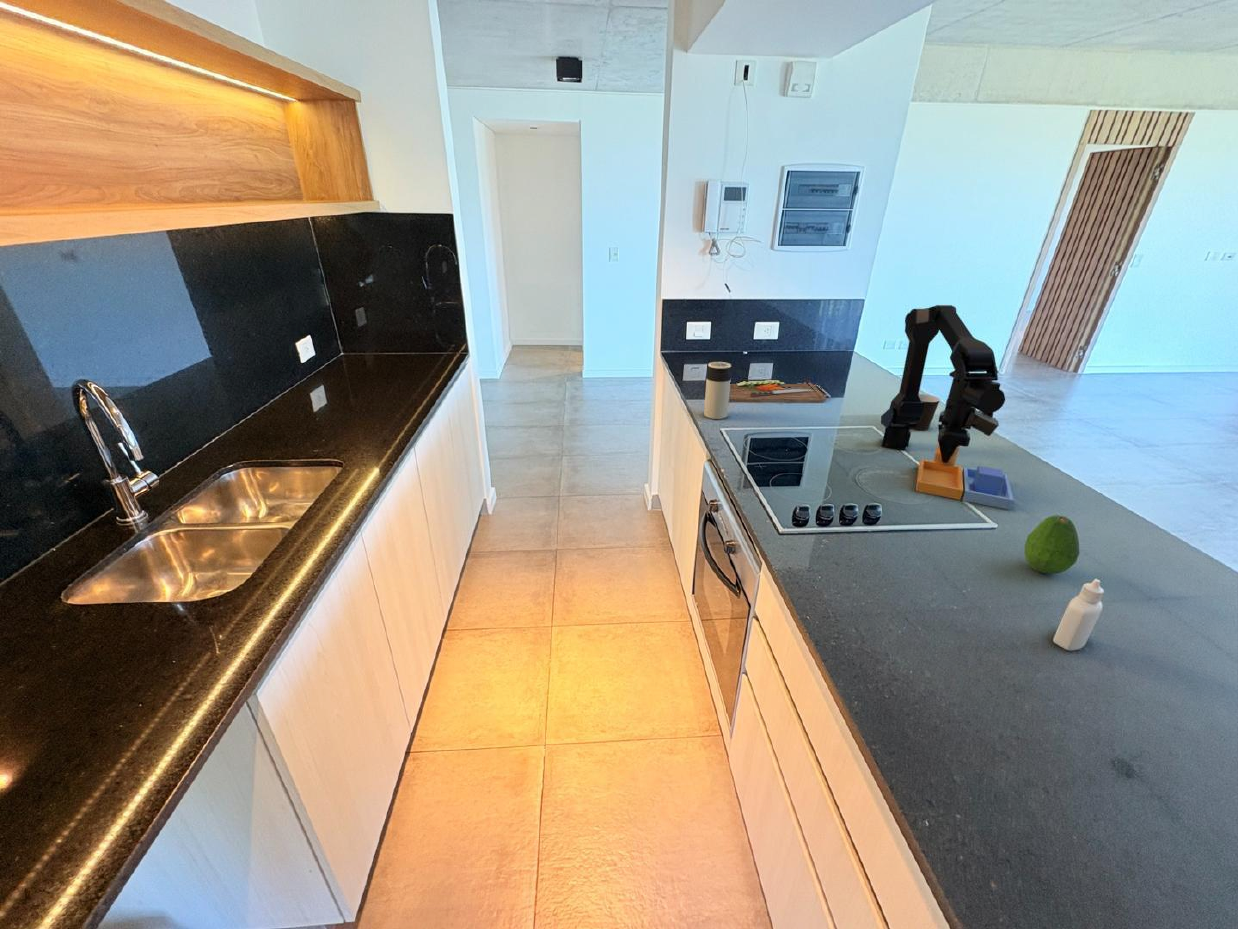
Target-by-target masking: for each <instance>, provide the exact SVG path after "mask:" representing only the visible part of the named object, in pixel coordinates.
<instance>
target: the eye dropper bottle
mask: <svg viewBox="0 0 1238 929" xmlns="http://www.w3.org/2000/svg"><path fill="white" fill-rule="evenodd" d="M1104 594H1105V590H1104V589H1103V587H1102V586H1101V580H1100V579H1097V578H1094V579H1093V580H1092V582H1089V583H1088V582H1087V583H1084V584H1083V585H1082V587H1081V590H1080V591H1079V594H1078V595H1075V596H1074V597H1073V598H1072V599H1071V600H1070V601H1069V603H1068V605H1067V607H1066V609H1065V612H1064V613H1063V616H1062V618H1061V620H1060V623H1059V626H1058V627H1057V630H1056V632H1055V634H1054V636H1053V643H1054V644H1055V645H1057V646H1059V647H1060V648H1062V649H1063V650H1065V651H1070V652H1071V651H1072V652H1073V651H1078V650H1080V649H1083V647H1084V646H1085V645H1086V644H1087V642H1088V640H1089V638H1090V635H1091V633H1092V631H1093V629H1094V627H1095V625H1096V623H1097V621H1098V619H1099V617H1100V615H1101V613H1102V610H1103V603H1102V601H1101V600H1102V598H1103V595H1104Z"/></svg>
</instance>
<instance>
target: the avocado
mask: <svg viewBox="0 0 1238 929" xmlns="http://www.w3.org/2000/svg"><path fill="white" fill-rule="evenodd" d="M1079 556H1080V541H1079V536H1078V532H1077V528H1076V525H1075V524H1074V523H1073V520H1071V519H1070V518H1068V517H1067V516H1064V515H1060V514H1054V515H1051V516H1048V517H1046V518H1044V520H1042V521H1041V522H1040V523H1039V524H1038V525H1037V526H1036V527H1035V528H1034V529H1033V530H1032V531H1031V532H1030V533H1029V534H1027V537H1026V540H1025V544H1024V557H1025V561H1026V563H1028V566H1030V567H1031V568H1032V569H1033V570H1035V571H1037V572H1039V573H1043V574H1061V573H1064V572H1066V571H1068V570H1069V569H1070V568H1071V567H1072V566H1074V565H1075V564H1076V563H1077V561H1078V558H1079Z"/></svg>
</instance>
